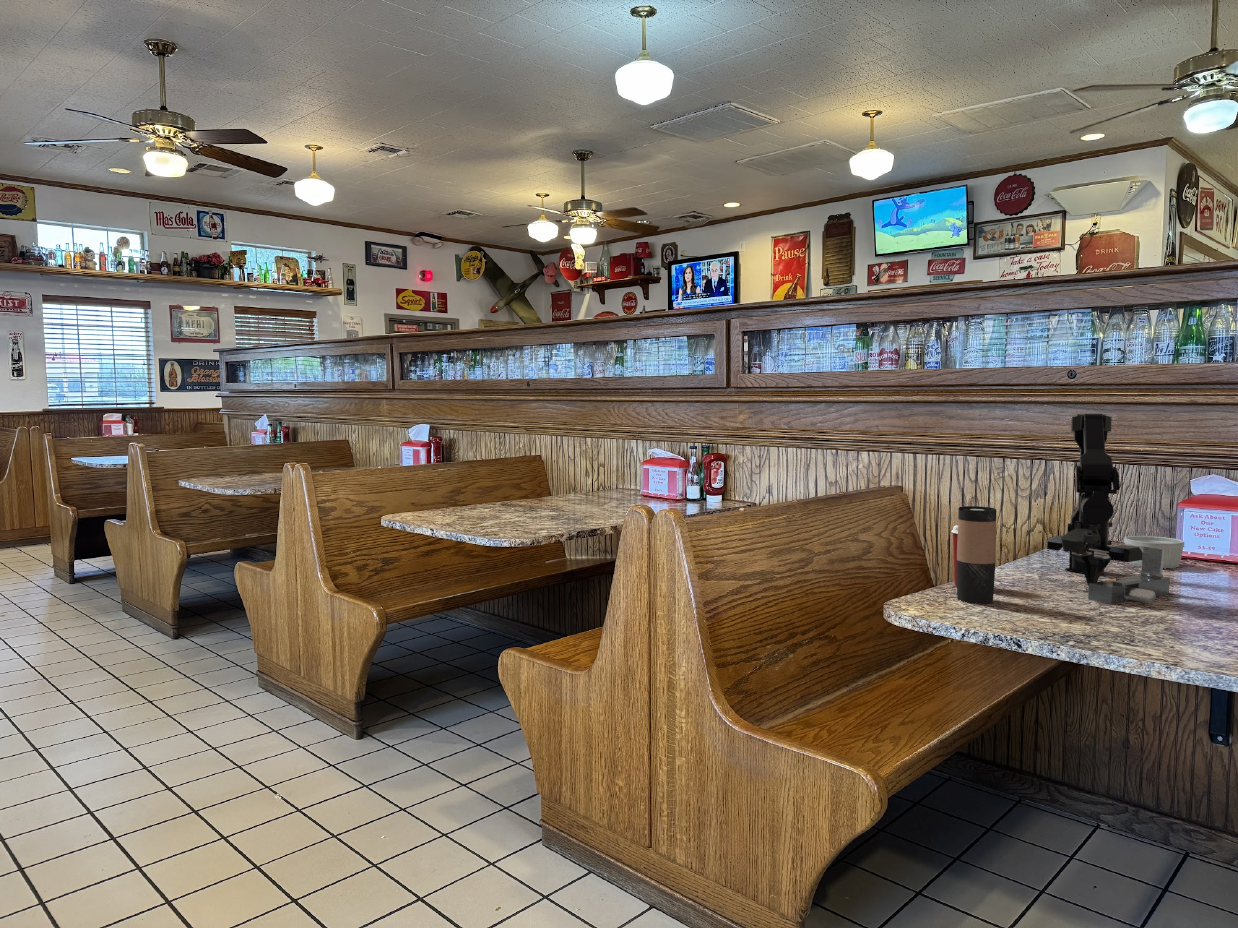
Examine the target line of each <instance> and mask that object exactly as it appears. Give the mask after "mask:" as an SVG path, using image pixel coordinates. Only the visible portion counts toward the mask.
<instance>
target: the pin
mask: <svg viewBox="0 0 1238 928" xmlns="http://www.w3.org/2000/svg"><path fill="white" fill-rule="evenodd" d="M1103 581H1104V582H1110V583H1113V581H1116V579H1114V580H1113V579H1107V580H1103ZM1124 600H1126V601H1132V602H1136V603H1138V602H1139V603H1143V604H1147V605H1153V604H1154V602H1155V601H1156V596H1155V592H1154V591H1150V590H1144V589H1138V588H1133V587H1127V586H1125V593H1124Z"/></svg>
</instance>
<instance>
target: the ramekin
mask: <svg viewBox="0 0 1238 928" xmlns="http://www.w3.org/2000/svg"><path fill="white" fill-rule="evenodd" d="M1123 542H1124V545H1128V546H1135V547H1140V549H1141V551H1142V552H1143V548H1144V547H1152V548H1159V549H1164V559H1163V568H1164V569H1163V570H1167V569H1166V568H1173V569H1176V567H1177V568H1178V567H1179V566H1180V565H1181V561H1182V556H1183V550H1184V547H1185V541H1184V540H1181V539H1178V538H1174V537H1164V536H1149V535H1131V536H1125V537H1124V540H1123ZM1128 563H1129V564H1130V565H1131V564H1132V565H1131V566H1134V565H1135V566H1134V567H1138V566H1140V568H1142V560H1139V561H1133V562H1128Z"/></svg>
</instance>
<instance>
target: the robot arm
mask: <svg viewBox="0 0 1238 928" xmlns="http://www.w3.org/2000/svg"><path fill="white" fill-rule="evenodd" d="M1112 418H1113V417H1112V416H1110V415H1106V414H1105V413H1077V414H1076V416H1075V415H1074V416H1072V417H1071V421H1070V433H1073V439H1074V441H1075V443H1076V444H1077V446H1078V447H1079V464H1078V465H1076V466H1075V493H1077V494H1078V503H1077V508H1076V509H1075V510H1074V511H1073V513H1072V514H1071V516H1070V522H1069V523H1067V527H1066V534H1064V535H1057V536H1056V535H1055V536H1050V537H1049V538H1048V539H1047V541H1046V549H1047V550H1049V551H1050V550H1051V551H1057V552H1059V551H1061V550H1062V549H1063V552H1065V553H1069V556H1068V557H1069V558H1068V559H1069V561H1068V565H1069V566H1068V567H1065V568H1064V569H1065V571H1069V572H1074V573H1078V574H1083V575H1084V578H1085V581H1086V583H1087V586H1088V587H1089V583H1092V582H1098V581H1099V579H1100V578H1101V576H1102V574H1103V573H1105V569H1106V568H1107V566H1108V565H1109V564H1110V563H1111V561H1115V562H1121V563H1129V562H1133V561H1139V560H1143V552H1142V551H1141V549H1140V547H1135V546H1128V545H1125V544H1120V545H1114V546H1113V545H1112V543H1113V542H1112V541H1113V540H1110V539H1109V537H1110V530H1109V529H1110V528H1112V527H1113V522H1112V521H1110V519H1111V518H1112V516H1113V515H1114V511H1115V509H1114V506H1113V504H1112V502H1111V498H1110V496H1109V495H1110V494H1111V495H1113V494H1114V495H1117V494H1118V491H1120V489H1121V487H1120V485H1121V484H1120V483H1121V481H1120V472H1119V471H1118V467H1116V466H1114V464H1113V457H1112V456H1111V455H1109V454H1108V453H1106V442H1107V440H1108V434H1110V433H1111V432H1112Z"/></svg>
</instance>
